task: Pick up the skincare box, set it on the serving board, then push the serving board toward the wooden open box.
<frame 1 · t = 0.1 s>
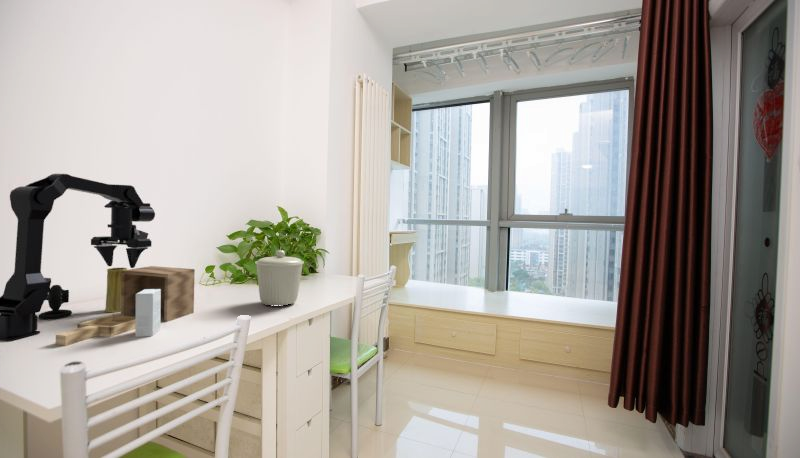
hand: (121, 266, 118), 15 cm above the table, tool pointing down, fingers open, 9 cm apart
canister: (278, 304, 134), on the table
vase: (116, 310, 118), on the table
wooden open box: (158, 314, 114), on the table
skincare box: (147, 334, 97), on the table
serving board: (112, 329, 99), on the table
webcam: (55, 317, 108), on the table
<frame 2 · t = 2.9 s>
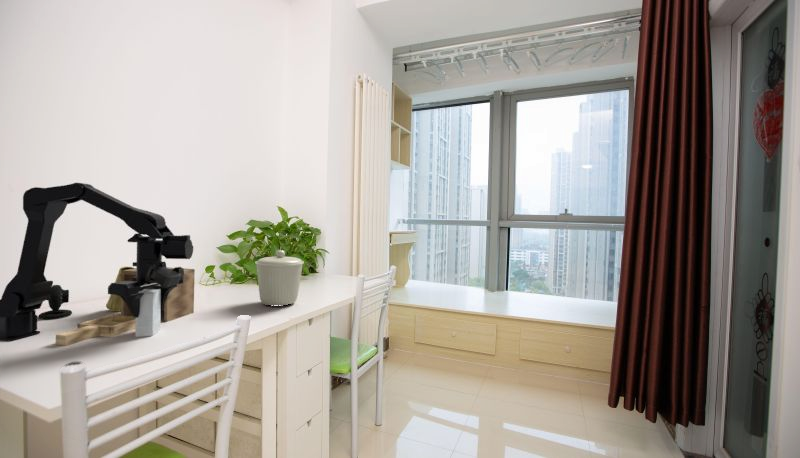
hand: (148, 313, 97), 6 cm above the table, tool pointing down, fingers closed on skincare box, 7 cm apart
vase: (116, 307, 117), point 1 cm above the table, touching wooden open box
skincare box: (147, 333, 97), on the table, touching gripper
everything else where it was.
when the fingers open (7 cm above the table, at t = 6.5 s): skincare box drops 1 cm, resting on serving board.
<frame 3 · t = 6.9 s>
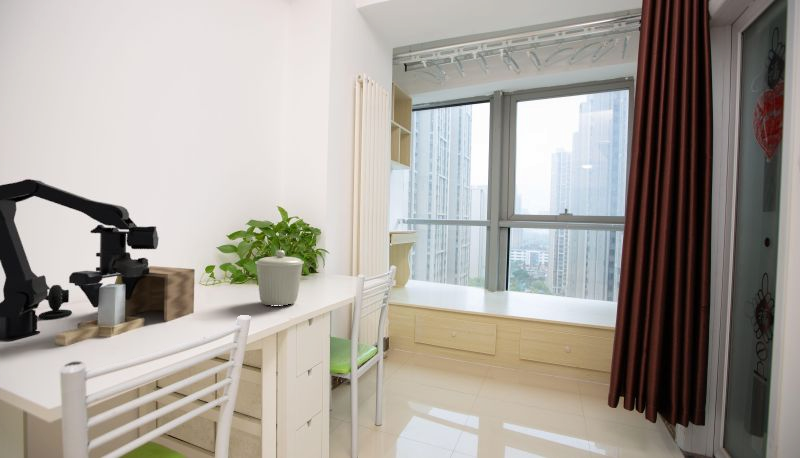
hand: (112, 303, 99), 7 cm above the table, tool pointing down, fingers open, 9 cm apart
vase: (116, 307, 117), point 1 cm above the table
skincare box: (111, 327, 99), resting on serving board
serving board: (112, 329, 99), on the table, touching skincare box
everything else where it was.
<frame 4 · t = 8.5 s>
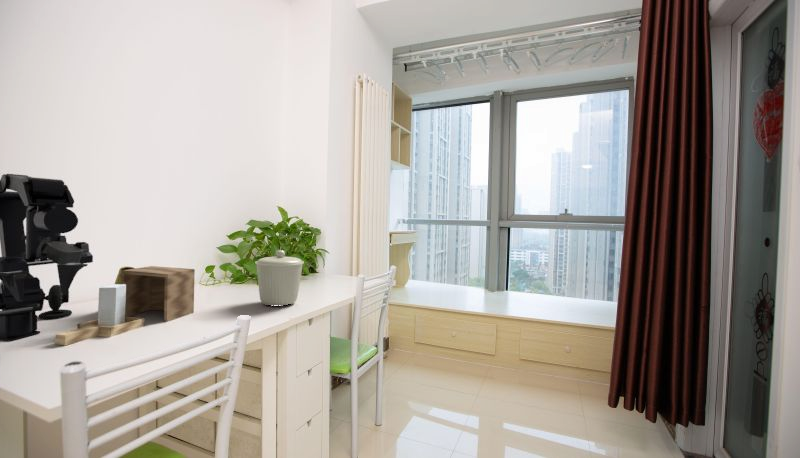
hand: (43, 296, 82), 13 cm above the table, tool pointing down, fingers open, 9 cm apart
vase: (116, 307, 117), point 1 cm above the table, touching wooden open box
everything else where it was.
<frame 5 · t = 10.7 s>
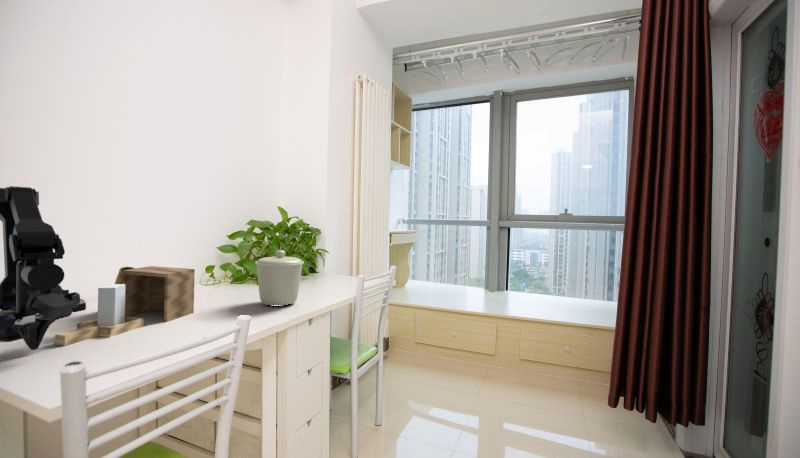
hand: (34, 349, 81), 1 cm above the table, tool pointing down, fingers closed
vase: (116, 307, 117), point 1 cm above the table
everything else where it was.
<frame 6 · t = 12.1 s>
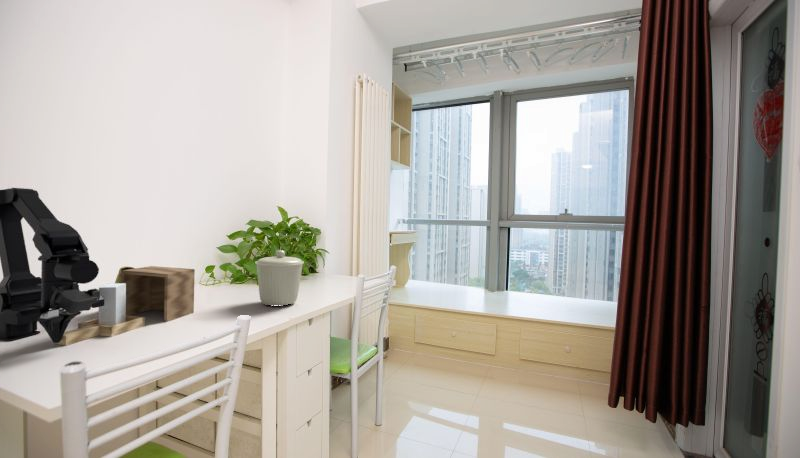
hand: (56, 342, 85), 1 cm above the table, tool pointing down, fingers closed
vase: (116, 307, 117), point 1 cm above the table, touching wooden open box
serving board: (112, 329, 99), on the table, touching gripper, skincare box
everything else where it was.
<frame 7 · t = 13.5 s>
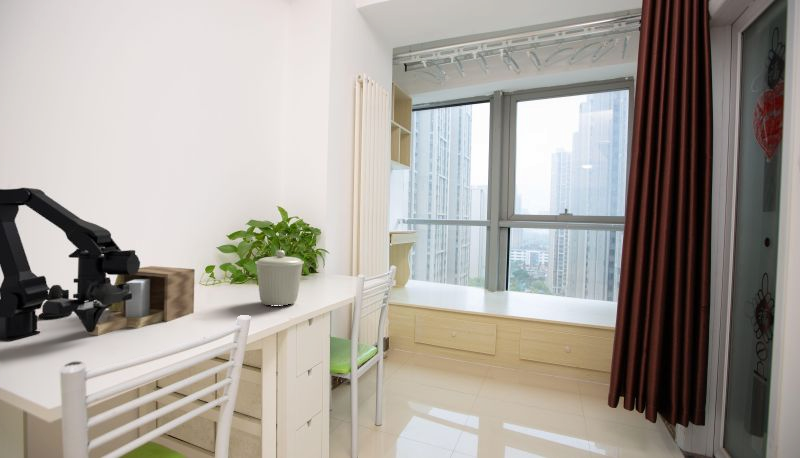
hand: (90, 331, 93), 1 cm above the table, tool pointing down, fingers closed
skincare box: (137, 319, 106), point 1 cm above the table, touching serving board
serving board: (138, 321, 107), on the table, touching gripper, skincare box
everything else where it was.
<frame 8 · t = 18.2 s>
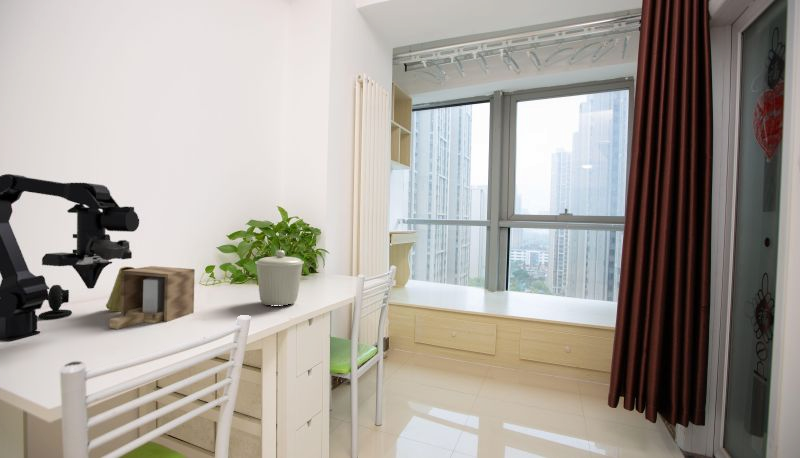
hand: (90, 288, 93), 13 cm above the table, tool pointing down, fingers closed
skincare box: (153, 315, 112), resting on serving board
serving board: (154, 316, 112), on the table, touching skincare box
everything else where it was.
at the end: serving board 1.3 cm off-centre on the wooden open box, point 0.0 cm above the wooden open box's base; skincare box 0.3 cm from the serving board (horizontally); skincare box tilted 1° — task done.
